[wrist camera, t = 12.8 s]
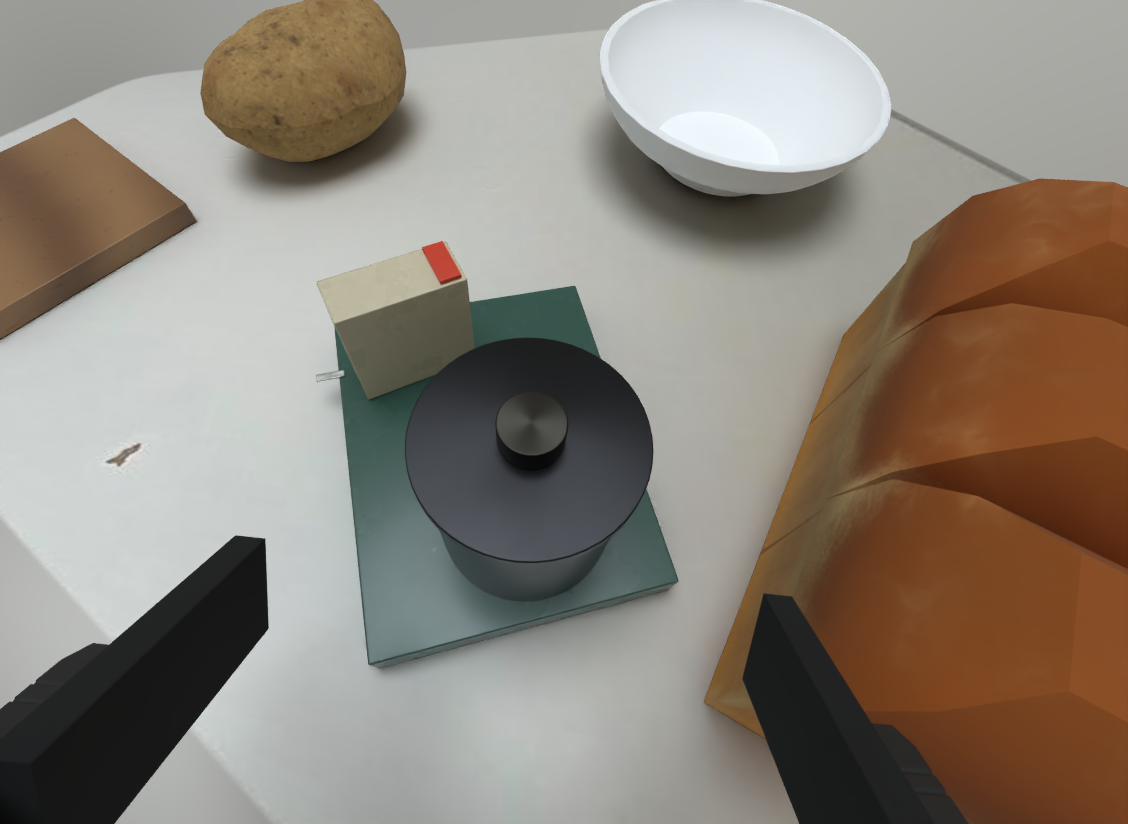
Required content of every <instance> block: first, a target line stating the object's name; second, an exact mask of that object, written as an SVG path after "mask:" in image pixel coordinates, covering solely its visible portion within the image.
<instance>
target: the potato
mask: <svg viewBox="0 0 1128 824" xmlns="http://www.w3.org/2000/svg"><path fill="white" fill-rule="evenodd" d="M405 79H406V67H405V58H404V53H403V49H402V45H401V41H400V37H399V34H398V32H397V31H396V29H395V27H394V26H393V24H392V23H391V21H390V19H389V18H388V17H387V15H386V14H385V13H384V11H383V10H382V9H381V8H380V6H379V5H378V4H377V3H375V2H374V1H373V0H304V1H302V2H299V3H295V4H291V5H286V6H282V7H278V8H274V9H269V10H266V11H264V12H262V13H261V14H259V15H257V16H256V17H254V18H252V19H251V20H249V21H248V22H247V23H246V24H245V25H244V26H242V27H241V28H240V29H239V30H238V31H237V32H236V33H235V34H233V35H232V36H230V37H228V38H227V39H225V40H224V41H222V42H221V43H220V44H219V45H218V46H217V47H216V48H215V50H214V51H213V52H212V53H211V55H210V56H209V58H208V59H207V61H206V62H205V65H204V71H203V78H202V86H201V97H202V103H203V108H204V113H205V115H206V116H207V117H208V118H209V119H210V120H211V121H212V122H213V123H214V124H215V125H216V126H217V127H218V128H219V129H220V130H221V131H222V132H223V133H224V134H225V135H226V136H227V137H229V138H230V139H232V140H234V141H236V142H238V143H240V144H242V145H244V146H246V147H247V148H250V149H252V150H254V151H256V152H259V153H261V154H263V155H266V156H269V157H273V158H276V159H280V160H284V161H287V162H304V161H313V160H317V159H320V158H324V157H327V156H331V155H333V154H336V153H338V152H340V151H343V150H345V149H347V148H350V147H352V146H354V145H355V144H357V143H359V142H360V141H362V140H364V139H366V138H367V137H369V136H370V135H371V134H372V133H373V132H374V131H375V130H376V129H377V128H378V127H379V126H381V125H382V124H383V123H384V121H385V120H386V119H387V118H388V117H389V116H390V115H391V114H392V112H393V111H394V110H395V109H396V107H397V106H398V104H399V102H400V100H401V99H402V97H403V95H404V88H405Z"/></svg>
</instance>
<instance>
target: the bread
mask: <svg viewBox="0 0 1128 824" xmlns="http://www.w3.org/2000/svg"><path fill="white" fill-rule="evenodd" d="M763 593H765V594H775V595H784V596H792V597H793V599H794V600H795V602H796V604H797V605H798V607H799V608H800V610H801V612H802V613H803V615H804V616H805V618H806V619H807V621H808V623H809V624H810V626H811V627H812V629H813V631H814V632H815V634H816V635H817V637H818V639H819V640H820V642H821V643H822V645H823V646H824V648H825V650H826V651H827V653H828V654H829V656H830V658H831V659H832V661H833V662H834V664H835V666H836V667H837V669H838V670H839V672H840V673H841V675H842V677H843V678H844V680H845V681H846V683H847V685H848V686H849V688H850V689H851V691H852V693H853V694H854V696H855V697H856V699H857V701H858V702H859V704H860V705H861V707H862V708H863V710H864V712H865V713H866V715H867V716H868V718H869V720H870V721H871V723H875V724H884V725H892V726H893V727H895V728H896V729H897V730H898V731H899V732H900V733H901V734H902V735H903V736H904V737H905V738H907V739H908V740H909V741H910V742H911V743H912V744H913V745H914V746H915V747H916V748H917V749H918V751H919V752H920V754H921V755H922V757H923V758H924V760H925V761H926V762H927V764H928V765H929V767H930V768H931V770H932V774H933V776H936V777H937V778H938V780H939V781H940V783H941V784H942V786H943V787H944V789H945V790H946V795H947V796H950V797H951V799H952V800H953V802H954V803H955V805H956V806H957V808H958V809H959V810H960V812H961V813H962V815H963V816H964V818H965V819H966V821H967V822H968V824H1128V188H1127V187H1125V186H1122V185H1120V184H1117V183H1114V182H1096V181H1076V180H1055V179H1037V180H1033V181H1029V182H1025V183H1021V184H1017V185H1013V186H1010V187H1006V188H1002V189H998V190H994V191H990V192H986V193H982V194H979V195H975V196H972V197H971V198H969V199H968V200H967V201H965V202H964V203H963V204H962V205H960V206H959V207H958V208H956V209H955V210H954V211H952V212H951V213H950V214H949V215H947V216H946V217H945V218H943V219H942V220H941V221H939V222H938V223H937V224H936V225H934V226H933V227H932V228H930V229H929V230H928V231H926V232H925V233H924V234H923V235H921V236H920V237H919V238H917V239H916V240H915V241H913V243H912V246H911V249H910V252H909V255H908V258H907V261H906V263H905V264H904V265H903V266H902V268H901V269H900V270H899V271H898V272H897V273H896V275H895V276H894V277H893V278H892V279H891V280H890V282H889V283H888V284H887V285H886V286H885V287H884V289H883V290H882V291H881V292H880V293H879V294H878V296H877V297H876V298H875V299H874V300H873V301H872V302H871V304H870V305H869V306H868V307H867V308H866V309H865V311H864V312H863V313H862V314H861V315H860V316H859V318H858V319H857V320H856V321H855V322H854V323H853V325H852V326H851V327H850V328H849V329H848V330H847V331H846V333H845V334H844V336H843V339H842V341H841V344H840V346H839V349H838V352H837V354H836V357H835V360H834V362H833V365H832V367H831V370H830V373H829V375H828V378H827V380H826V383H825V386H824V388H823V391H822V394H821V396H820V399H819V401H818V404H817V407H816V409H815V412H814V415H813V417H812V420H811V422H810V425H809V428H808V430H807V433H806V435H805V438H804V441H803V443H802V446H801V449H800V451H799V454H798V456H797V459H796V462H795V464H794V467H793V470H792V472H791V475H790V477H789V480H788V483H787V485H786V488H785V490H784V493H783V496H782V498H781V501H780V504H779V506H778V509H777V511H776V514H775V517H774V519H773V522H772V525H771V527H770V530H769V532H768V535H767V538H766V540H765V543H764V545H763V548H762V551H761V553H760V556H759V559H758V561H757V564H756V566H755V569H754V572H753V574H752V577H751V580H750V582H749V585H748V587H747V590H746V593H745V595H744V598H743V600H742V603H741V606H740V608H739V611H738V614H737V616H736V619H735V621H734V624H733V627H732V629H731V632H730V635H729V637H728V640H727V642H726V645H725V648H724V650H723V653H722V656H721V658H720V661H719V663H718V666H717V669H716V671H715V674H714V676H713V679H712V682H711V684H710V687H709V690H708V692H707V695H706V697H705V700H704V702H705V703H707V704H708V705H710V706H712V707H713V708H715V709H717V710H718V711H720V712H722V713H723V714H725V715H727V716H728V717H730V718H732V719H733V720H735V721H737V722H738V723H740V724H742V725H743V726H745V727H747V728H748V729H750V730H752V731H753V732H755V733H757V734H758V735H760V736H762V737H763V738H765V735H764V733H763V730H762V728H761V725H760V723H759V720H758V718H757V715H756V712H755V710H754V707H753V705H752V702H751V700H750V697H749V695H748V692H747V690H746V687H745V685H744V682H743V680H742V677H743V673H744V669H745V665H746V661H747V657H748V653H749V649H750V645H751V641H752V637H753V633H754V629H755V625H756V621H757V617H758V613H759V609H760V605H761V601H762V597H763ZM765 739H766V738H765Z"/></svg>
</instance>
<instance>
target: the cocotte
mask: <svg viewBox="0 0 1128 824" xmlns="http://www.w3.org/2000/svg"><path fill="white" fill-rule="evenodd" d="M405 462H406V470H407V474H408V477H409V481H410V484H411V487H412V489H413V492H414V494H415V496H416V498H417V500H418V502H419V504H420V506H421V508H422V509H423V511H424V512H425V514H426V515H427V517H428V518H429V519H430V520H431V522H432V523H433V524H434V525H435V526H436V527H437V528H438V529H439V531H440V533H441V536H442V538H443V541H444V543H445V546H446V548H447V551H448V553H449V555H450V557H451V559H452V561H453V562H454V564H455V565H456V567H457V568H458V569H459V571H460V572H461V573H462V574H463V575H464V576H465V577H466V578H467V579H468V580H469V581H470V582H471V583H473V584H474V585H475V586H477V587H478V588H480V589H481V590H483V591H485V592H487V593H489V594H491V595H494V596H496V597H500V598H503V599H507V600H513V601H537V600H543V599H547V598H551V597H554V596H556V595H559V594H561V593H563V592H565V591H567V590H569V589H570V588H572V587H574V586H575V585H576V584H578V583H579V582H580V581H581V580H583V579H584V578H585V577H586V576H587V575H588V574H589V573H590V571H591V570H592V569H593V567H594V566H595V565H596V563H597V562H598V560H599V558H600V556H601V555H602V553H603V551H604V549H605V547H606V545H607V543H608V541H609V540H610V538H611V537H612V536H614V535H615V534H616V533H617V532H618V531H619V530H620V529H621V528H622V527H623V526H624V525H625V523H626V522H627V521H628V519H629V518H630V517H631V515H632V514H633V513H634V511H635V510H636V508H637V506H638V504H639V502H640V501H641V499H642V497H643V495H644V493H645V490H646V488H647V485H648V482H649V479H650V474H651V470H652V464H653V439H652V433H651V428H650V424H649V420H648V418H647V415H646V412H645V409H644V407H643V406H642V404H641V402H640V400H639V398H638V396H637V395H636V393H635V392H634V390H633V389H632V387H631V386H630V385H629V383H628V382H627V381H626V380H625V379H624V378H623V377H622V376H621V375H620V374H619V373H618V372H617V371H616V370H615V369H614V368H613V367H611V366H610V365H609V364H608V363H606V362H605V361H603V360H602V359H600V358H599V357H597V356H596V355H594V354H592V353H590V352H588V351H586V350H584V349H582V348H579V347H577V346H574V345H572V344H568V343H565V342H561V341H557V340H551V339H545V338H531V337H525V338H511V339H505V340H499V341H495V342H492V343H488V344H485V345H482V346H480V347H477V348H475V349H472V350H470V351H468V352H466V353H465V354H463V355H461V356H459V357H457V358H456V359H455V360H453V361H452V362H450V363H449V364H448V365H446V366H445V367H444V368H443V369H442V370H441V371H440V372H438V373H437V374H436V375H435V376H434V378H433V379H432V380H431V381H430V382H429V383H428V385H427V386H426V387H425V389H424V390H423V392H422V393H421V395H420V396H419V398H418V400H417V402H416V404H415V406H414V408H413V410H412V412H411V415H410V419H409V422H408V425H407V430H406V437H405Z"/></svg>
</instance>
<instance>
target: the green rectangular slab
mask: <svg viewBox="0 0 1128 824" xmlns="http://www.w3.org/2000/svg"><path fill="white" fill-rule="evenodd" d="M470 311H471V320H472V329H473V339H474V348H477V347H480V346H482V345H485V344H488V343H492V342H495V341H499V340H505V339H511V338H525V337H531V338H545V339H551V340H557V341H561V342H565V343H568V344H572V345H574V346H577V347H579V348H582V349H584V350H586V351H588V352H590V353H592V354H594V355H596V356H597V357H599V358H600V355H599V352H598V349H597V347H596V344H595V341H594V338H593V335H592V332H591V329H590V327H589V324H588V321H587V318H586V315H585V312H584V309H583V307H582V304H581V301H580V298H579V295H578V292H577V289H576V287H575V286H570V287H564V288H557V289H551V290H545V291H538V292H532V293H526V294H519V295H513V296H507V297H500V298H494V299H488V300H481V301H475V302H470ZM334 328H335V326H334ZM335 338H336V347H337V357H338V367H339V371H336V372H330V373H324V374H319V375H316V379H317V382H320V381H326V380H331V379H337V378H340V387H341V397H342V407H343V417H344V427H345V437H346V447H347V457H348V467H349V477H350V487H351V497H352V507H353V517H354V527H355V537H356V547H357V557H358V567H359V577H360V586H361V596H362V606H363V616H364V626H365V636H366V646H367V656H368V664H369V665H371V666H374V667H376V668H383V667H387V666H390V665H394V664H398V663H402V662H405V661H409V660H413V659H416V658H420V657H424V656H427V655H431V654H435V653H438V652H442V651H446V650H449V649H453V648H457V647H460V646H464V645H468V644H472V643H475V642H479V641H483V640H486V639H490V638H494V637H497V636H501V635H505V634H508V633H512V632H516V631H519V630H523V629H527V628H530V627H534V626H538V625H541V624H545V623H549V622H553V621H556V620H560V619H564V618H567V617H571V616H575V615H578V614H582V613H586V612H589V611H593V610H597V609H600V608H604V607H608V606H611V605H615V604H619V603H622V602H626V601H630V600H634V599H637V598H641V597H645V596H648V595H652V594H656V593H659V592H663V591H667V590H669V589H670V588H671V587H672V586H674V585H675V584H676V583H677V582H678V578H677V575H676V572H675V569H674V566H673V563H672V561H671V558H670V555H669V552H668V549H667V546H666V543H665V541H664V538H663V535H662V532H661V529H660V526H659V523H658V521H657V518H656V515H655V512H654V509H653V506H652V503H651V501H650V498H649V495H648V492H647V489H646V490H645V493H644V495H643V497H642V499H641V501H640V502H639V504H638V506H637V508H636V510H635V511H634V513H633V514H632V515H631V517H630V518H629V519H628V521H627V522H626V523H625V525H624V526H623V527H622V528H621V529H620V530H619V531H618V532H617V533H616V534H615V535H614V536H612V537H611V538H610V540H609V541H608V543H607V545H606V547H605V549H604V551H603V553H602V555H601V556H600V558H599V560H598V562H597V563H596V565H595V566H594V567H593V569H592V570H591V571H590V573H589V574H588V575H587V576H586V577H585V578H584V579H583V580H581V581H580V582H579V583H578V584H576V585H575V586H574V587H572V588H570V589H569V590H567V591H565V592H563V593H561V594H559V595H556V596H554V597H551V598H547V599H543V600H537V601H513V600H507V599H503V598H500V597H496V596H494V595H491V594H489V593H487V592H485V591H483V590H481V589H480V588H478V587H477V586H475V585H474V584H473V583H471V582H470V581H469V580H468V579H467V578H466V577H465V576H464V575H463V574H462V573H461V572H460V571H459V569H458V568H457V567H456V565H455V564H454V562H453V561H452V559H451V557H450V555H449V553H448V551H447V548H446V546H445V543H444V541H443V538H442V536H441V533H440V531H439V529H438V528H437V527H436V526H435V525H434V524H433V523H432V522H431V520H430V519H429V518H428V517H427V515H426V514H425V512H424V511H423V509H422V508H421V506H420V504H419V502H418V500H417V498H416V496H415V494H414V492H413V489H412V487H411V484H410V481H409V477H408V474H407V470H406V462H405V437H406V430H407V425H408V422H409V419H410V415H411V412H412V410H413V408H414V406H415V404H416V402H417V400H418V398H419V396H420V395H421V393H422V392H423V390H424V389H425V387H426V386H427V385H428V383H429V382H430V381H431V380H432V379H433V378H434V376H435V375H433V376H431V377H428V378H425V379H423V380H420V381H417V382H415V383H412V384H409V385H407V386H404V387H401V388H399V389H396V390H394V391H391V392H388V393H386V394H383V395H380V396H378V397H375V398H372V399H370V400H369V399H368V398H367V396H366V393H365V391H364V389H363V387H362V385H361V383H360V380H359V378H358V376H357V374H356V372H355V370H354V367H353V365H352V363H351V361H350V359H349V357H348V354H347V352H346V350H345V348H344V346H343V344H342V341H341V339H340V337H339V335H338V333H337V331H336V328H335ZM600 359H601V358H600Z"/></svg>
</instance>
